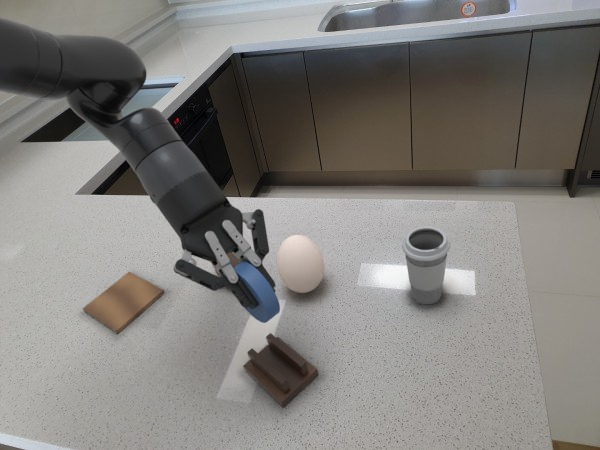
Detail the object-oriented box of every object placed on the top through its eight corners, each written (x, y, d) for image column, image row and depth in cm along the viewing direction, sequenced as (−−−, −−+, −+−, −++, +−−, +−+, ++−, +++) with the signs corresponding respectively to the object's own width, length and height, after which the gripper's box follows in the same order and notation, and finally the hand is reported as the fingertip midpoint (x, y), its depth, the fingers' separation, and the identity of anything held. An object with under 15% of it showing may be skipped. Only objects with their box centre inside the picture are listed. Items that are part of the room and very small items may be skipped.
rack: (283, 408, 64) (277, 392, 61) (245, 371, 70) (238, 355, 67) (318, 374, 67) (314, 358, 65) (279, 342, 73) (274, 326, 71)
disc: (273, 333, 57) (259, 289, 52) (236, 303, 62) (220, 260, 57) (285, 324, 58) (272, 279, 53) (247, 294, 63) (232, 251, 58)
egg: (337, 283, 81) (328, 234, 74) (305, 311, 77) (292, 262, 70) (306, 265, 86) (295, 217, 79) (274, 290, 82) (260, 242, 75)
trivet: (117, 334, 80) (115, 331, 80) (84, 311, 87) (82, 308, 86) (164, 292, 87) (163, 289, 86) (130, 274, 93) (129, 271, 92)
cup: (419, 316, 72) (418, 260, 65) (396, 289, 77) (393, 235, 70) (457, 298, 74) (460, 241, 66) (432, 273, 79) (433, 218, 71)
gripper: (132, 205, 50) (225, 333, 50) (232, 149, 57) (315, 263, 56) (131, 225, 57) (212, 338, 57) (220, 173, 63) (294, 275, 63)
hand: (263, 300), depth 56 cm, fingers closed on disc, 2 cm apart
